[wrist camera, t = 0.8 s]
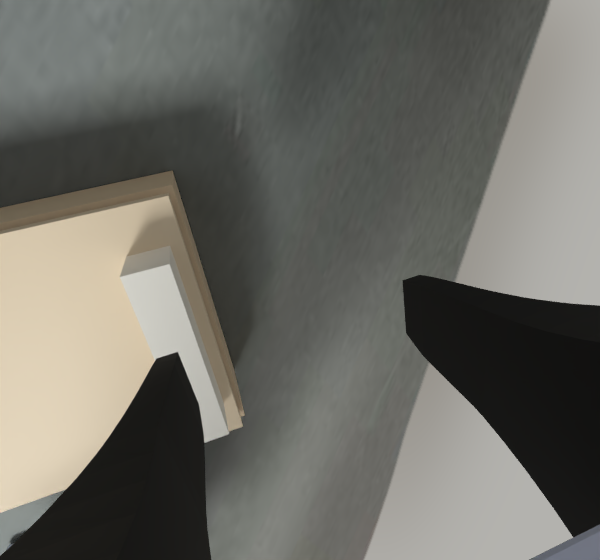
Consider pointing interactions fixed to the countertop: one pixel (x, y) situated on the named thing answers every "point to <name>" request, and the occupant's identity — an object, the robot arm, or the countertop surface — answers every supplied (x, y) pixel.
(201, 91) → the countertop surface
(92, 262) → the mailer lid
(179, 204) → the tray
